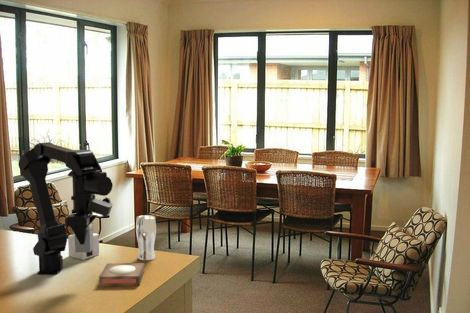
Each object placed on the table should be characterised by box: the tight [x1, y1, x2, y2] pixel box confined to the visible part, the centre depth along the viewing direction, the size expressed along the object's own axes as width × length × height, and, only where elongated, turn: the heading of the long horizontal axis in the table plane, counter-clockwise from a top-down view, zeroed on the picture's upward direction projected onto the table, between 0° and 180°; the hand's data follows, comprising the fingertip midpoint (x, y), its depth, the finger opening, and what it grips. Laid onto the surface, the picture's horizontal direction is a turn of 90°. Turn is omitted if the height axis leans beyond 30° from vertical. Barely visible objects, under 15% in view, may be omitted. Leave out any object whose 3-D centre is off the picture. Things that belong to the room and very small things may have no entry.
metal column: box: [75, 222, 94, 252], centre depth 152 cm, size 4×4×8 cm
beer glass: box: [135, 214, 157, 262], centre depth 176 cm, size 7×7×15 cm
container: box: [67, 221, 100, 261], centre depth 179 cm, size 8×8×13 cm
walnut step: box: [98, 262, 145, 287], centre depth 156 cm, size 12×12×3 cm
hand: (84, 242), depth 152 cm, fingers closed on metal column, 4 cm apart
